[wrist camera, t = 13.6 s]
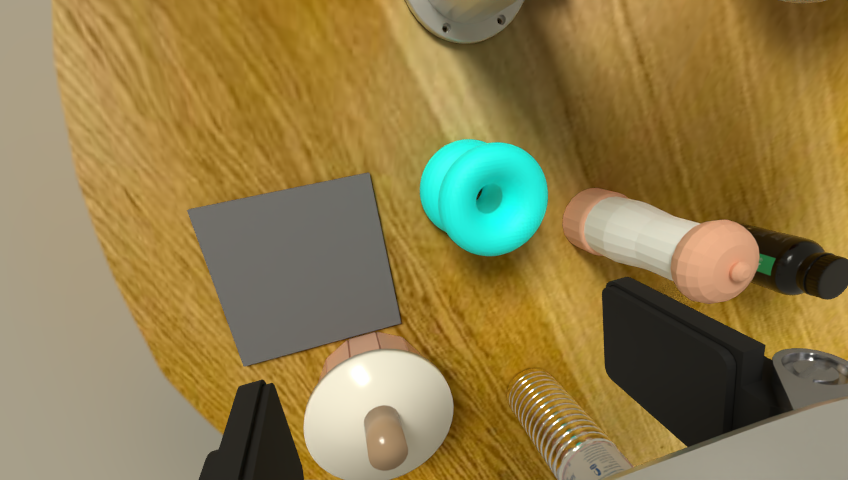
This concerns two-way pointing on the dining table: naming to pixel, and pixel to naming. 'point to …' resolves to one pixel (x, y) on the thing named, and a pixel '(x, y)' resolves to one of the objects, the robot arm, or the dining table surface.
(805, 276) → the supplement bottle
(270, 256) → the mat
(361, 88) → the dining table surface
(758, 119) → the dining table surface
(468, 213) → the donuts
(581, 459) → the water bottle
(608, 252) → the pepper shaker
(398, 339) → the bowl
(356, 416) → the lid
